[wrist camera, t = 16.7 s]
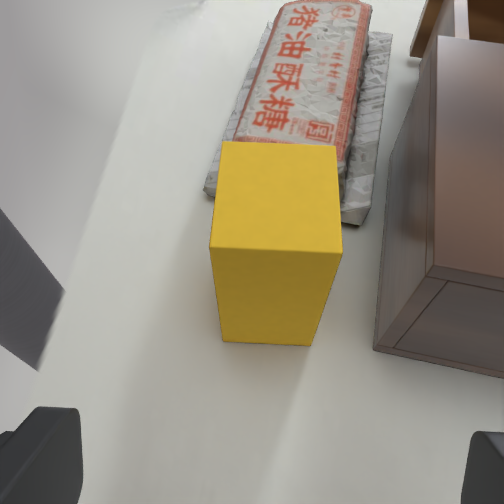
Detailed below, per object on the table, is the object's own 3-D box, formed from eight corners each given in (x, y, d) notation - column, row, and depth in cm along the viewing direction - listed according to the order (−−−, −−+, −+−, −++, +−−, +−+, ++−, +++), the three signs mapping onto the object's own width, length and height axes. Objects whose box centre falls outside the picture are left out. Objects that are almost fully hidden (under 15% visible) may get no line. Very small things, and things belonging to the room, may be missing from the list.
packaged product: (386, 177, 22) (195, 143, 23) (365, 232, 26) (203, 200, 27) (406, -11, 31) (269, -29, 32) (388, 51, 35) (267, 34, 36)
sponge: (222, 341, 22) (208, 247, 15) (230, 257, 25) (221, 140, 17) (311, 346, 22) (343, 253, 15) (309, 261, 25) (336, 145, 17)
